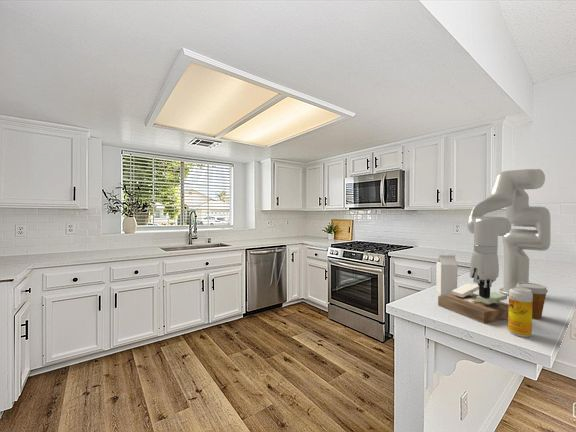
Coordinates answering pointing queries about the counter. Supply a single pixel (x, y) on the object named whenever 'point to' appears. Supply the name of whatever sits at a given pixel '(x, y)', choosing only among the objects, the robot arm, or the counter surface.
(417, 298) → the counter surface
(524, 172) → the robot arm
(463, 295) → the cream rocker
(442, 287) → the milk carton
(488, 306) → the switch unit
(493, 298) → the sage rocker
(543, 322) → the counter surface
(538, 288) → the disposable coffee cup
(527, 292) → the beer can
